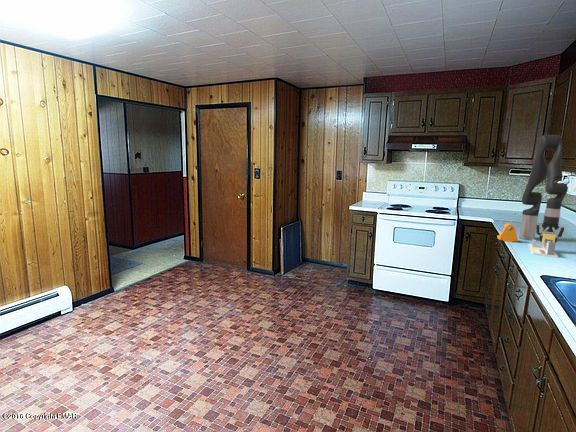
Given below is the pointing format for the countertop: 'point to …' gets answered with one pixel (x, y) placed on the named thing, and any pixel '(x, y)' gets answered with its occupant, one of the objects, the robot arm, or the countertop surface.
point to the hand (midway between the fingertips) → (547, 242)
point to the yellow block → (548, 237)
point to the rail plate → (543, 248)
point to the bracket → (508, 234)
